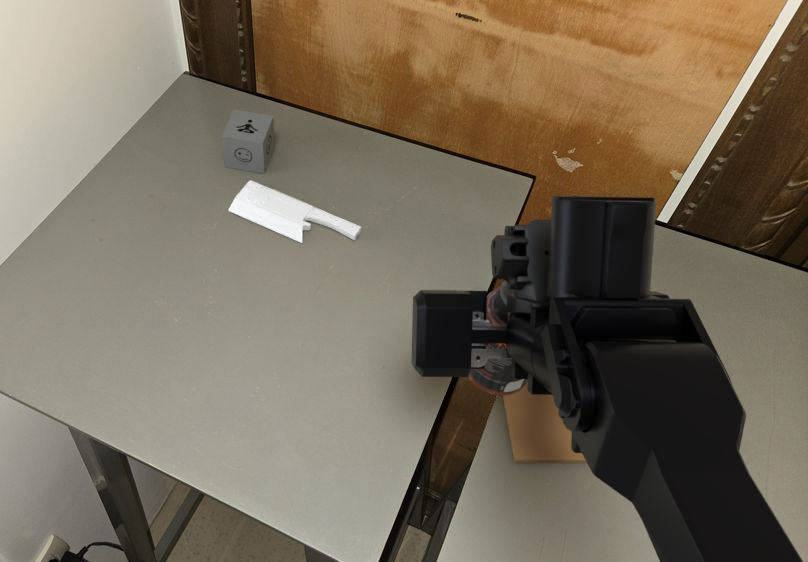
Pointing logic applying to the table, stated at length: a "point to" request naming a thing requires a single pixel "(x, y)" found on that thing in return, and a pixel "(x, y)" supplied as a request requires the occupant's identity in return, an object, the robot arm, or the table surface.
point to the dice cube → (248, 141)
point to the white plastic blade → (285, 212)
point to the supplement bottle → (496, 369)
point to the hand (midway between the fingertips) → (509, 315)
